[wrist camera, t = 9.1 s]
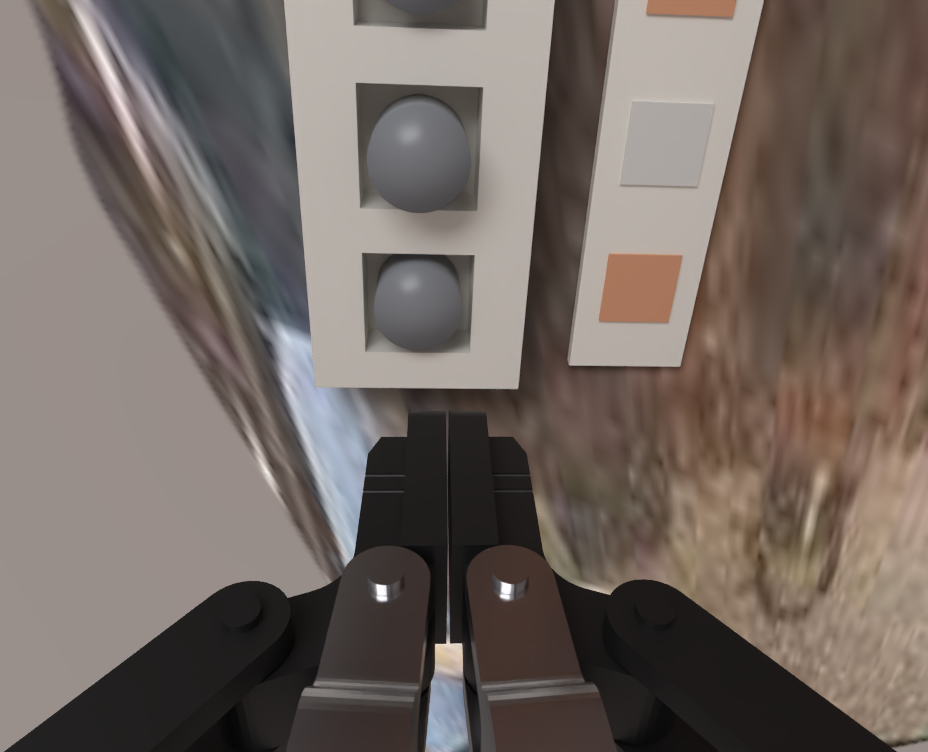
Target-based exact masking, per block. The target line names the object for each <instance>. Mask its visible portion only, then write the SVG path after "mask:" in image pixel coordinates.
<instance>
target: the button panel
mask: <svg viewBox="0 0 928 752" xmlns="http://www.w3.org/2000/svg"><path fill="white" fill-rule="evenodd" d="M554 2H555V0H457V1H456V2H455V3H454V4H452V5H451V6H450V7H448V8H446V9H444V10H442V11H440V12H437V13H434V14H428V15H418V14H411V13H408V12H405V11H402V10H400V9H398V8H396V7H395V6H393V5H392V4H390V3H389V2H388V1H387V0H284V5H285V17H286V30H287V42H288V55H289V67H290V80H291V92H292V105H293V117H294V130H295V142H296V155H297V167H298V180H299V192H300V205H301V217H302V229H303V242H304V254H305V267H306V279H307V292H308V304H309V317H310V329H311V342H312V354H313V367H314V379H315V387H343V388H458V389H518V385H519V375H520V364H521V353H522V343H523V332H524V322H525V311H526V300H527V290H528V279H529V268H530V258H531V247H532V236H533V226H534V215H535V205H536V194H537V183H538V173H539V162H540V151H541V141H542V130H543V119H544V109H545V98H546V87H547V77H548V66H549V56H550V45H551V34H552V24H553V13H554ZM413 94H423V95H429V96H433V97H435V98H438V99H440V100H442V101H444V102H445V103H446V104H448V105H449V106H450V107H451V108H452V109H453V110H454V111H455V112H456V113H457V115H458V116H459V118H460V120H461V121H462V124H463V126H464V129H465V133H466V137H467V141H468V146H469V150H470V156H471V167H470V173H469V177H468V180H467V183H466V185H465V187H464V188H463V190H462V191H461V193H460V194H459V195H458V197H457V198H456V199H455V200H454V201H452V202H451V203H450V204H448V205H447V206H445V207H443V208H441V209H439V210H436V211H433V212H428V213H411V212H407V211H403V210H401V209H398V208H396V207H394V206H393V205H391V204H390V203H388V202H387V201H386V200H385V199H384V198H383V197H382V196H381V195H380V194H379V193H378V192H377V190H376V189H375V187H374V185H373V183H372V181H371V179H370V176H369V172H368V168H367V152H368V147H369V143H370V140H371V136H372V133H373V129H374V126H375V123H376V121H377V119H378V117H379V116H380V114H381V113H382V111H383V110H384V109H385V108H386V107H387V106H388V105H389V104H391V103H392V102H393V101H395V100H397V99H399V98H401V97H404V96H407V95H413ZM392 254H443V255H445V256H446V257H447V258H449V260H450V261H451V262H452V263H453V265H454V266H455V268H456V270H457V273H458V277H459V283H460V293H461V302H462V318H461V322H460V324H459V327H458V329H457V330H456V332H455V333H454V334H453V336H452V337H451V338H450V339H449V340H447V341H446V342H445V343H443V344H441V345H440V346H437V347H435V348H432V349H427V350H409V349H405V348H402V347H399V346H397V345H395V344H394V343H392V342H390V341H389V340H388V339H387V338H386V337H385V336H384V335H383V334H382V333H381V331H380V330H379V328H378V326H377V324H376V322H375V318H374V301H375V294H376V287H377V280H378V275H379V272H380V269H381V267H382V265H383V264H384V262H385V261H386V260H387V259H388V258H389V257H390V256H391V255H392Z"/></svg>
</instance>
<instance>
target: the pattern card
mask: <svg viewBox="0 0 928 752" xmlns="http://www.w3.org/2000/svg"><path fill="white" fill-rule="evenodd" d="M763 2H764V0H615V4H614V12H613V19H612V27H611V35H610V42H609V50H608V57H607V65H606V72H605V80H604V87H603V95H602V102H601V110H600V117H599V125H598V132H597V140H596V147H595V155H594V163H593V170H592V178H591V185H590V193H589V200H588V208H587V215H586V223H585V230H584V238H583V245H582V253H581V260H580V268H579V275H578V283H577V291H576V298H575V306H574V313H573V321H572V328H571V336H570V343H569V351H568V358H567V360H568V363H569V365H572V366H665V367H680V365H681V361H682V356H683V352H684V348H685V343H686V339H687V334H688V330H689V326H690V321H691V317H692V313H693V308H694V304H695V299H696V295H697V291H698V286H699V282H700V278H701V273H702V269H703V264H704V260H705V256H706V251H707V247H708V243H709V238H710V234H711V229H712V225H713V221H714V216H715V212H716V208H717V203H718V199H719V194H720V190H721V186H722V181H723V177H724V173H725V168H726V164H727V159H728V155H729V151H730V146H731V142H732V138H733V133H734V129H735V124H736V120H737V116H738V111H739V107H740V103H741V98H742V94H743V89H744V85H745V81H746V76H747V72H748V68H749V63H750V59H751V55H752V50H753V46H754V41H755V37H756V33H757V28H758V24H759V20H760V15H761V11H762V6H763Z"/></svg>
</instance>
